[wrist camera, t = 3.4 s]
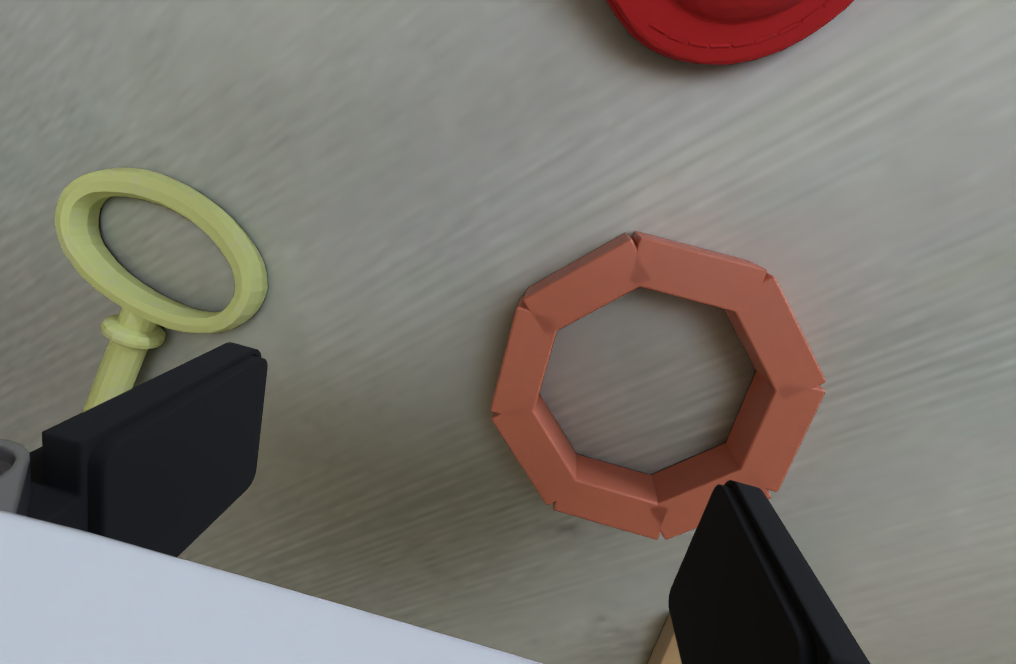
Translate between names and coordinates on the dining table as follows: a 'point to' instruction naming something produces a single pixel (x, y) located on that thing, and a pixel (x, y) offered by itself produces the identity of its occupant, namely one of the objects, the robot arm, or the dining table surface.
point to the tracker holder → (723, 26)
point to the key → (138, 301)
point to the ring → (689, 484)
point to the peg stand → (666, 646)
